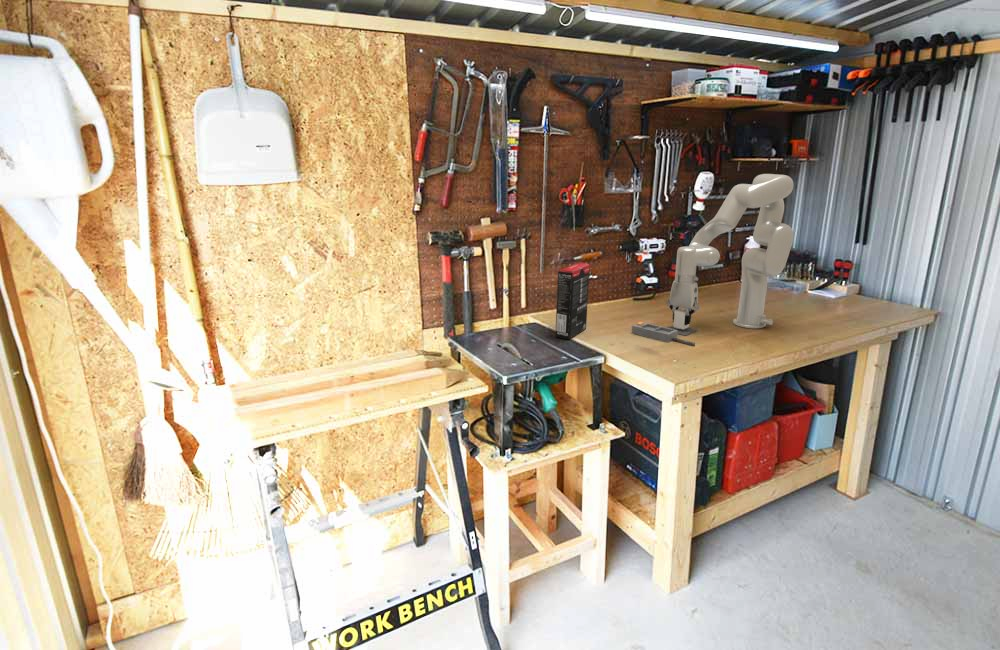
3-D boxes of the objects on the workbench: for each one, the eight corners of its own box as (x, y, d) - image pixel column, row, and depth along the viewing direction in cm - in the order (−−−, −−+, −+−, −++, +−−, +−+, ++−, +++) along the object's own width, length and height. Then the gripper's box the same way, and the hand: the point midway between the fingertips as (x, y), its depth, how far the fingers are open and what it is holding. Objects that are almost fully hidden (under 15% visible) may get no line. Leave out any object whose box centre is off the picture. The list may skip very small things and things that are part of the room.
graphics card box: (572, 326, 227) (574, 261, 219) (588, 328, 224) (590, 263, 215) (554, 338, 213) (556, 269, 205) (571, 341, 210) (573, 271, 201)
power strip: (699, 343, 204) (700, 334, 203) (690, 348, 200) (691, 338, 198) (641, 329, 222) (642, 320, 221) (631, 333, 217) (632, 324, 216)
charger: (689, 327, 219) (690, 309, 217) (683, 329, 216) (684, 311, 214) (679, 324, 222) (680, 307, 220) (673, 327, 219) (674, 309, 217)
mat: (698, 330, 219) (698, 329, 219) (685, 336, 213) (685, 335, 213) (675, 325, 226) (675, 324, 226) (662, 330, 220) (662, 329, 220)
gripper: (710, 280, 210) (705, 325, 215) (670, 274, 221) (667, 317, 227) (700, 283, 205) (696, 329, 210) (660, 277, 216) (657, 320, 222)
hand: (681, 322), depth 218 cm, fingers closed on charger, 4 cm apart
